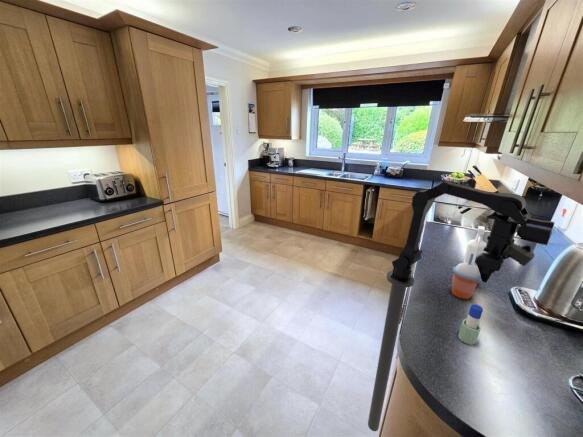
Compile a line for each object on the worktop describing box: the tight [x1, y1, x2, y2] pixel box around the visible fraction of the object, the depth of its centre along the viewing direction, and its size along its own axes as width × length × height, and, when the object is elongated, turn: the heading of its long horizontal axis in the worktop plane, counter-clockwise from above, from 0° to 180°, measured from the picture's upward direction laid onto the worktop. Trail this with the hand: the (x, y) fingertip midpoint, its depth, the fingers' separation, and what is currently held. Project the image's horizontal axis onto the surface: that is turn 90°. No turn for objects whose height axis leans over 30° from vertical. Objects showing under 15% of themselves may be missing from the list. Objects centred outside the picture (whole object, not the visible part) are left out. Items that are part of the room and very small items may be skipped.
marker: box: [465, 303, 484, 330], centre depth 73 cm, size 3×3×12 cm
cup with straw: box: [451, 254, 482, 300], centre depth 94 cm, size 9×9×18 cm
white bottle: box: [462, 225, 487, 287], centre depth 100 cm, size 7×12×25 cm, turn 141°
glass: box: [457, 318, 482, 346], centre depth 75 cm, size 5×5×6 cm
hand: (488, 277), depth 81 cm, fingers open, 9 cm apart
